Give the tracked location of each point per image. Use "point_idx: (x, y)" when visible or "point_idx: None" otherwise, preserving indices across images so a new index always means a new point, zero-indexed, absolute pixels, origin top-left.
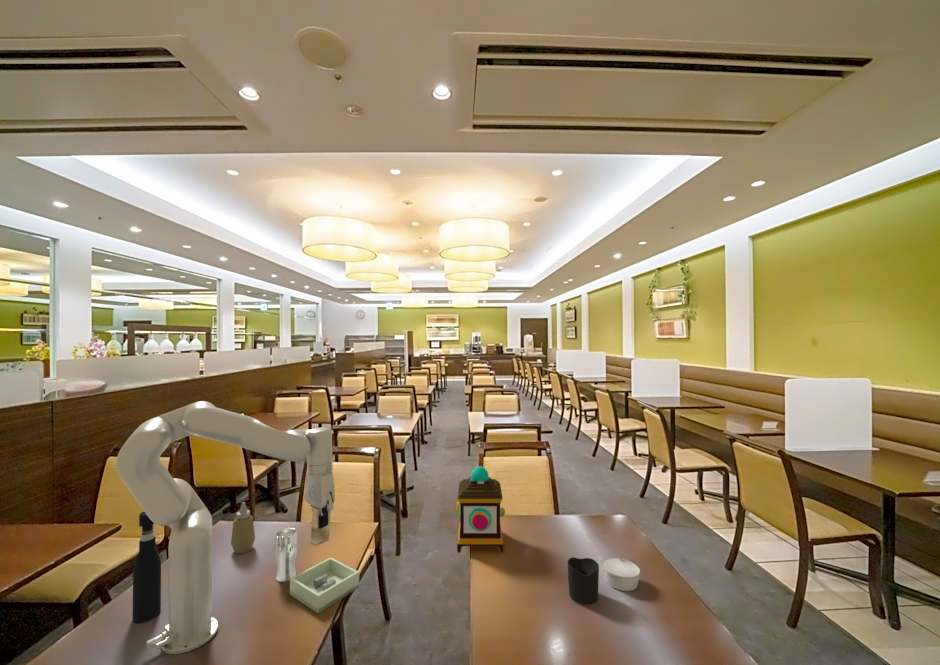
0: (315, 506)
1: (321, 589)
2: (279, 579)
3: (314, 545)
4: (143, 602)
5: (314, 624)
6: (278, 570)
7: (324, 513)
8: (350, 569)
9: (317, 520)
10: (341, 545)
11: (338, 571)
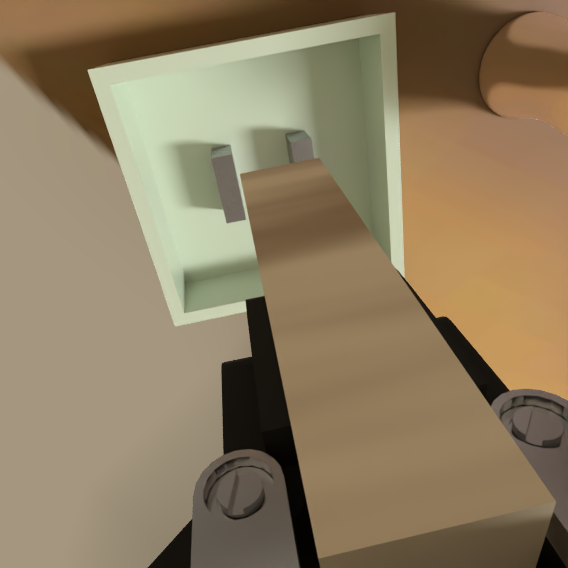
0: (561, 559)
1: (261, 152)
2: (521, 19)
3: (253, 172)
4: None
5: (26, 6)
6: (566, 19)
7: (155, 560)
8: (225, 305)
9: (278, 351)
10: (518, 353)
11: None
